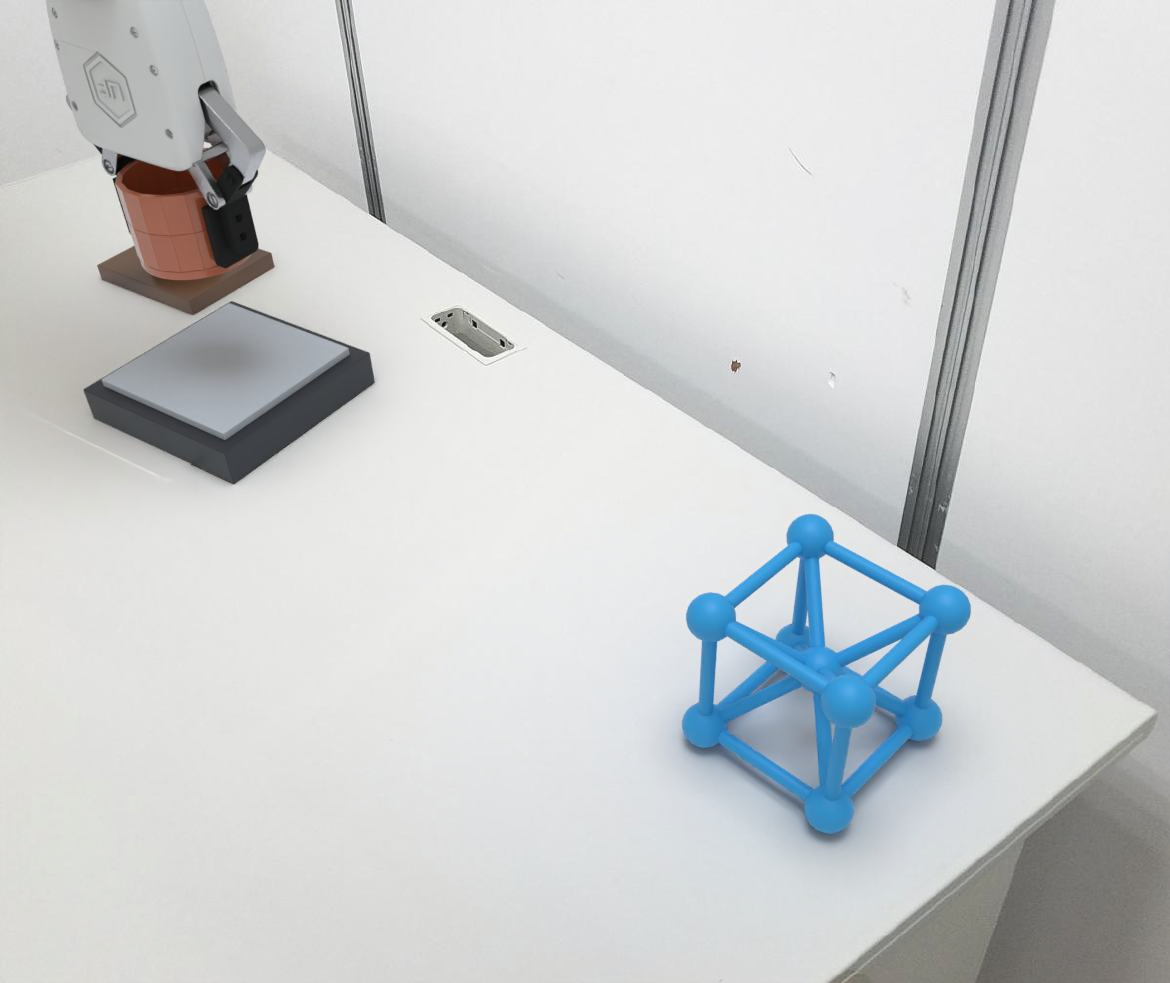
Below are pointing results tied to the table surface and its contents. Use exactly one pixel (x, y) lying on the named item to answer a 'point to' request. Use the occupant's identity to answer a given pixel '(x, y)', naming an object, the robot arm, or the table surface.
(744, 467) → the table surface
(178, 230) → the terracotta cup
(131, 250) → the panel
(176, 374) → the scale
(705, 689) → the molecular structure
